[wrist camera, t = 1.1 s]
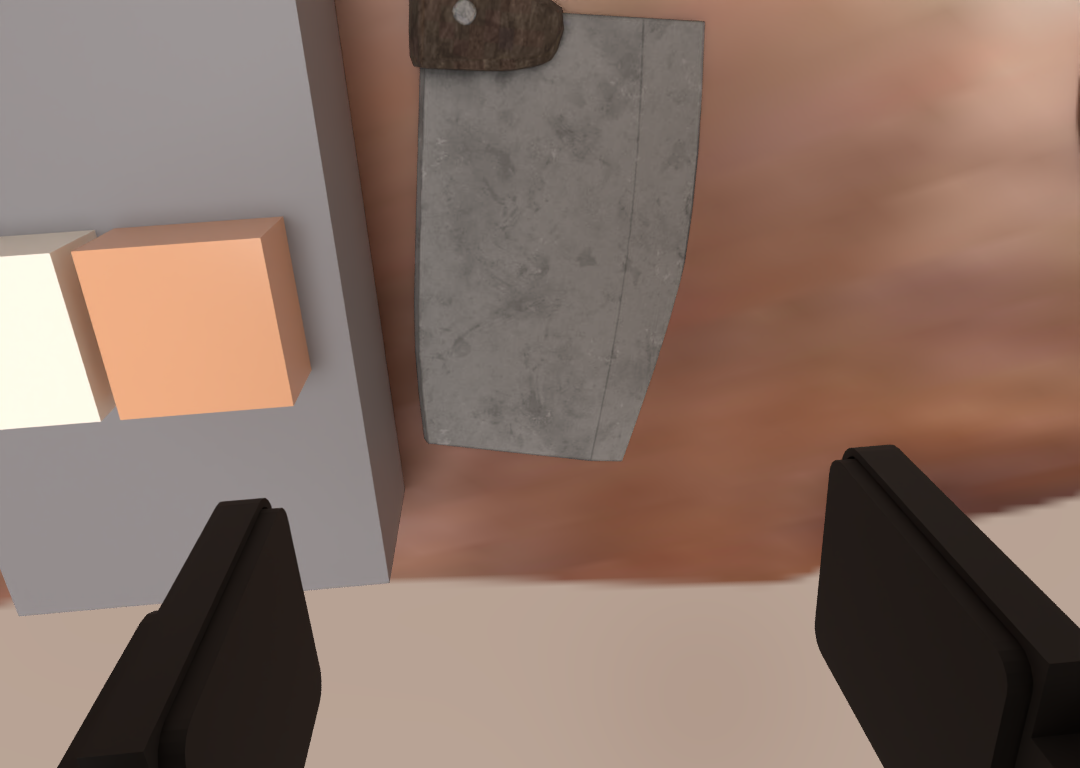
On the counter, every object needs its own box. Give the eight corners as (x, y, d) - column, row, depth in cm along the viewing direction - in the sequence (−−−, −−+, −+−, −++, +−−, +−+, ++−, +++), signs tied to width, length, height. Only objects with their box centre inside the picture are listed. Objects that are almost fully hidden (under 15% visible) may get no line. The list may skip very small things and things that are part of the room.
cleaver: (400, -565, 21) (393, -625, 19) (775, -526, 21) (804, -579, 20) (418, 454, 33) (414, 481, 31) (659, 455, 33) (670, 482, 31)
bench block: (321, -86, 24) (275, -120, 19) (404, 489, 32) (389, 583, 27) (-89, -62, 24) (-258, -91, 18) (98, 515, 32) (18, 616, 26)
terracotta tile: (283, 216, 22) (260, 238, 20) (311, 369, 24) (293, 405, 22) (113, 228, 22) (70, 251, 20) (155, 382, 24) (120, 419, 21)
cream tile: (94, 229, 22) (49, 253, 20) (137, 384, 24) (100, 421, 21) (-78, 242, 22) (-144, 267, 19) (-22, 396, 23) (-76, 436, 21)
